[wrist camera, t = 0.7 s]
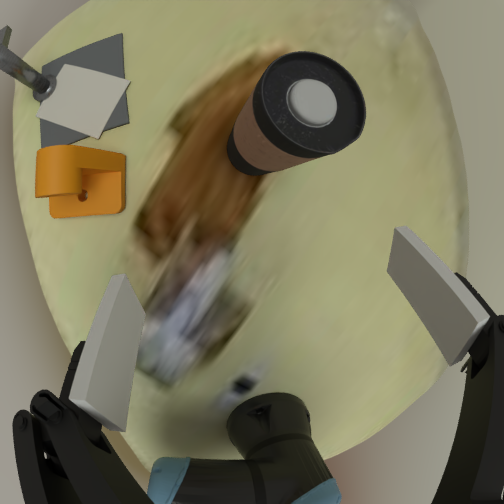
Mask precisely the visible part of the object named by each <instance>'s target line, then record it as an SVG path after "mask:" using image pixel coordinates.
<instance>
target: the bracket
mask: <svg viewBox="0 0 504 504" xmlns="http://www.w3.org/2000/svg"><path fill="white" fill-rule="evenodd" d="M125 160H126V156H125V155H123V154H121V153H115V152H110V151H105V150H99V149H94V148H88V147H82V146H76V145H55V146H49V147H45V148H42V149H39V150H38V151H37V157H36V178H35V198H45V197H49V210H50V215H51V216H52V217H53V218H65V217H77V216H89V215H102V214H115V213H120V212H122V211H123V210H124V208H125ZM86 192H87V193H88V197H87V199H86V198H85V194H86Z"/></svg>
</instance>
